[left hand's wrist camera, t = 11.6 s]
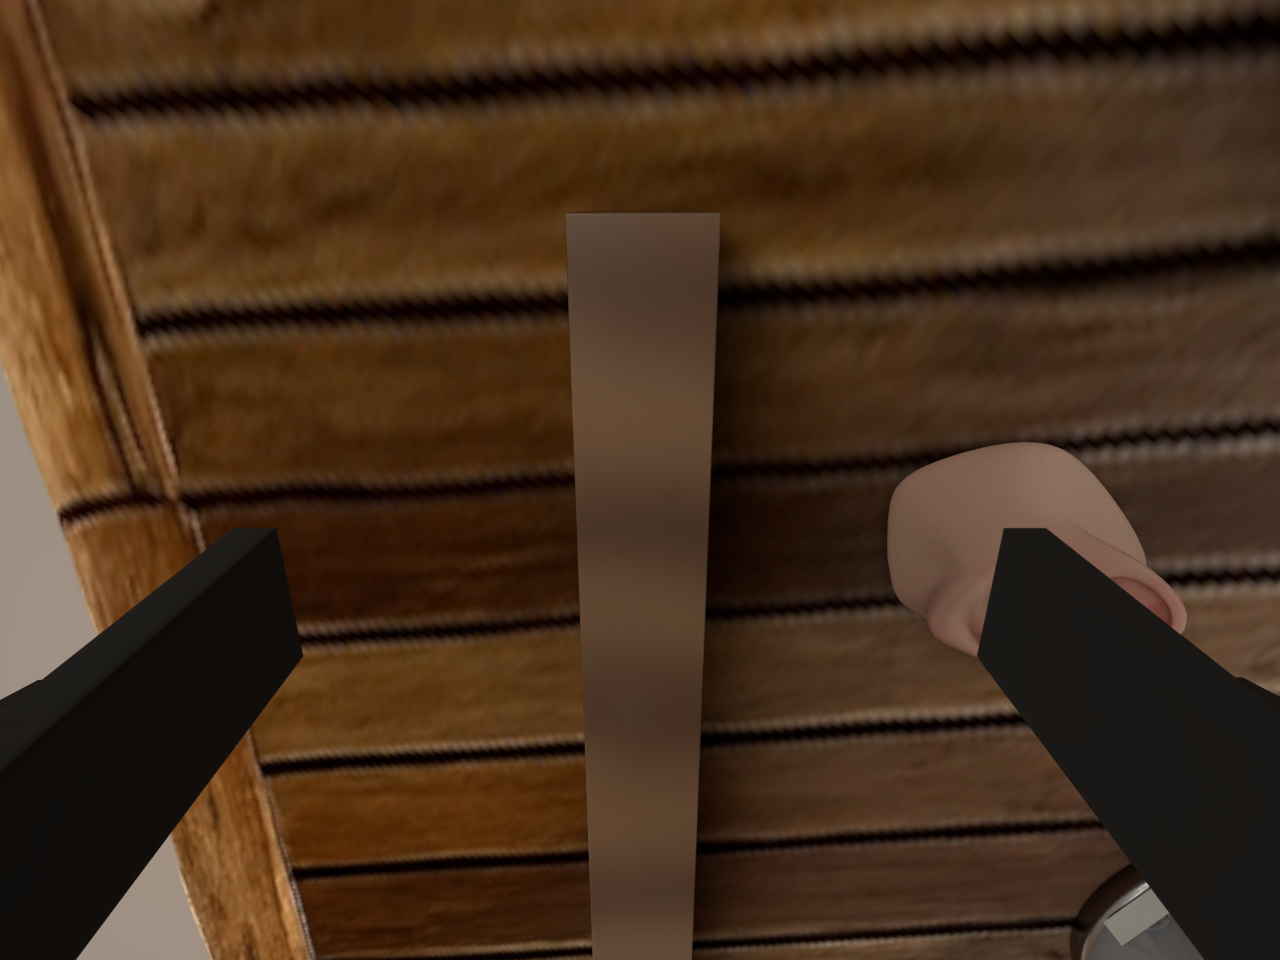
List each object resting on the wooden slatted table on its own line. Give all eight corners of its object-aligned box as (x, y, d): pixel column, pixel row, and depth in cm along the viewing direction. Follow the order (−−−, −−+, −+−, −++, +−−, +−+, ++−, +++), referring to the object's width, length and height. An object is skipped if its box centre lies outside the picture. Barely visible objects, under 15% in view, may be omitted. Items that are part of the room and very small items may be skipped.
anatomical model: (869, 545, 31) (1125, 406, 28) (844, 508, 34) (1069, 383, 32) (988, 746, 35) (1220, 639, 32) (954, 693, 38) (1161, 594, 36)
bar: (581, 211, 29) (564, 212, 23) (702, 211, 29) (721, 212, 23) (607, 1092, 52) (602, 1224, 45) (676, 1092, 52) (681, 1224, 45)
